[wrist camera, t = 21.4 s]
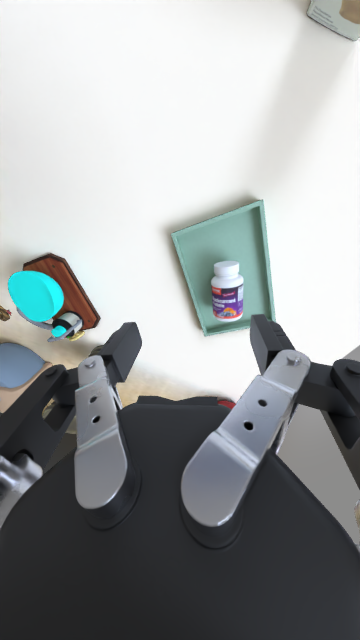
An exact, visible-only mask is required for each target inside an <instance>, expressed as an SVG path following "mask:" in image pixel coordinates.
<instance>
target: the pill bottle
mask: <svg viewBox="0 0 360 640" xmlns="http://www.w3.org/2000/svg"><path fill="white" fill-rule="evenodd" d="M238 272H239V262H237V261H222V262H218V263H216V264H214V273H215V275H216V276H214V277H213V278H212V280H211V288H212V302H213V315H214V317H215V318H216V319H217V320H220V321H224V322H231V321H236V320H238V319H240V318H241V317H242V314H243V277H242V276H241V275H240V274H238Z"/></svg>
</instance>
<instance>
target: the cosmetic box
mask: <svg viewBox="0 0 360 640" xmlns="http://www.w3.org/2000/svg"><path fill="white" fill-rule="evenodd" d="M307 15H308V16H310V17H311V18H313V19H314V20H316V21H318V22H319V23H321V24H323V25H324V26H326V27H328V28H330V29H331V30H333V31H335V32H337V33H339V34H341V35H343V36H345V37H347V38H350V39H352V40H354V41H356V40H357V39H358V38H359V37H360V0H312V1H311V3H310V6H309V8H308V11H307Z"/></svg>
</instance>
